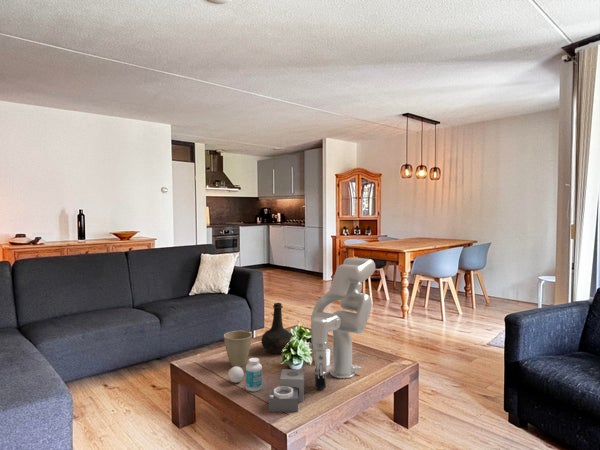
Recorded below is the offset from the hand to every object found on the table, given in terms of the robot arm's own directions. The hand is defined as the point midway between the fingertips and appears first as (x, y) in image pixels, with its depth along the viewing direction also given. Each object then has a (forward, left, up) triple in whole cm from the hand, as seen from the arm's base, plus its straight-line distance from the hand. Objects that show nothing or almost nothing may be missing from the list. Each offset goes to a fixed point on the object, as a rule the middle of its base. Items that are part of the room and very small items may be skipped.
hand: (320, 382), depth 178 cm
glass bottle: (+22, -48, -3) cm, 53 cm away
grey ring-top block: (+17, +16, -3) cm, 23 cm away
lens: (0, 0, -2) cm, 2 cm away
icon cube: (+13, +7, -3) cm, 15 cm away
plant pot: (+42, -29, -3) cm, 51 cm away
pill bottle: (+31, -1, -3) cm, 31 cm away
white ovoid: (+41, -9, -3) cm, 42 cm away
